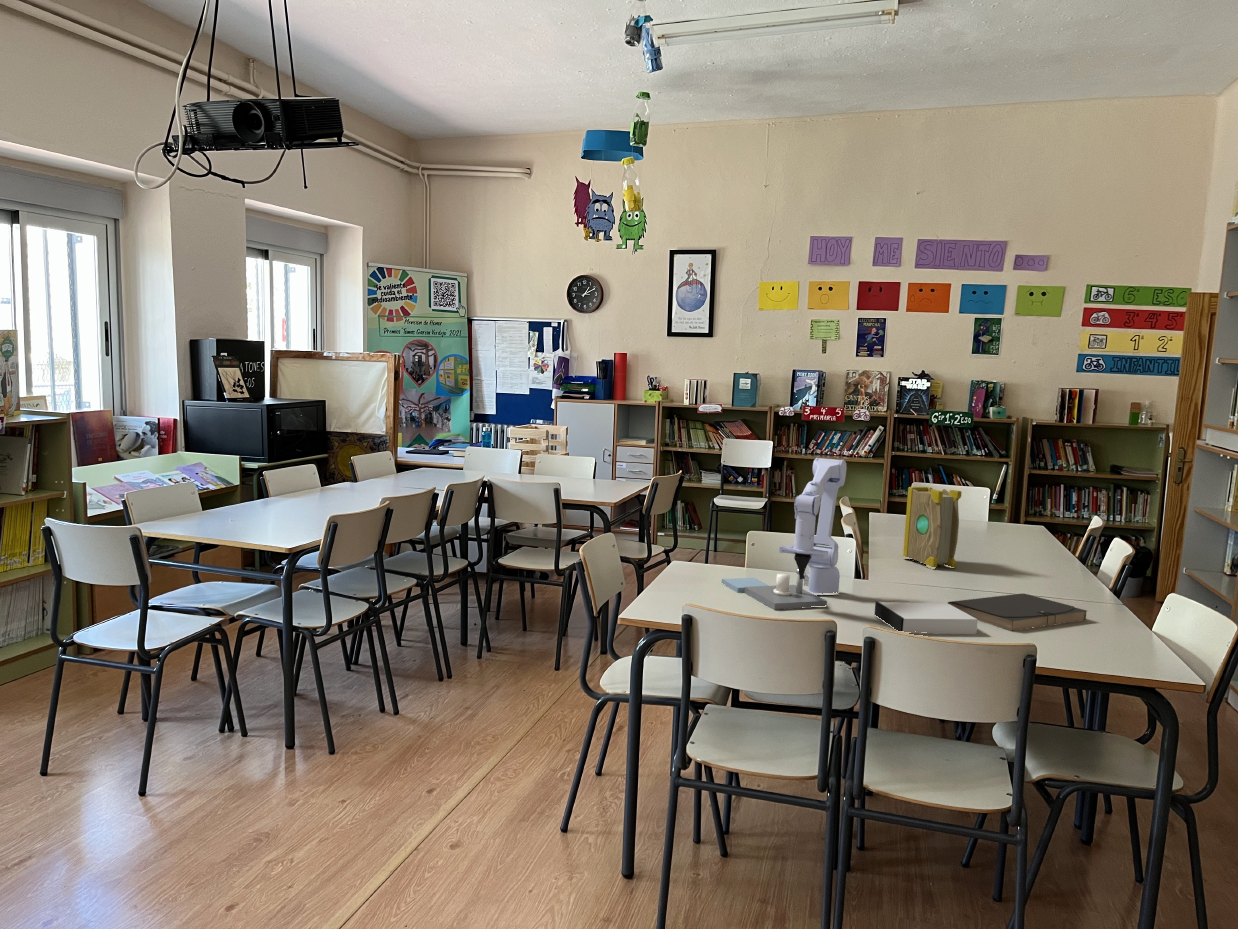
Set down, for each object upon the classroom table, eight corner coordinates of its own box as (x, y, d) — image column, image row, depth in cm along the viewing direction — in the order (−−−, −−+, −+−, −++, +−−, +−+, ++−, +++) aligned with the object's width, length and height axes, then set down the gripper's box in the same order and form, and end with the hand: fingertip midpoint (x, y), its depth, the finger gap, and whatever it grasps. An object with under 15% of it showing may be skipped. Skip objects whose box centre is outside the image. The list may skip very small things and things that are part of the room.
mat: (753, 582, 286) (753, 577, 286) (770, 590, 274) (770, 586, 274) (721, 583, 282) (721, 578, 282) (737, 592, 271) (737, 587, 271)
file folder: (1013, 619, 239) (946, 599, 260) (1012, 633, 239) (945, 612, 260) (1088, 609, 253) (1019, 591, 275) (1087, 622, 254) (1018, 603, 275)
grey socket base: (793, 590, 276) (795, 565, 275) (826, 607, 257) (828, 580, 256) (744, 592, 270) (745, 567, 270) (774, 610, 251) (776, 582, 251)
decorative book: (900, 558, 335) (906, 484, 332) (923, 558, 338) (929, 484, 335) (933, 570, 316) (940, 491, 313) (957, 569, 319) (964, 491, 316)
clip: (795, 576, 266) (796, 568, 265) (803, 576, 266) (803, 568, 265) (802, 585, 254) (803, 577, 254) (810, 586, 254) (811, 577, 253)
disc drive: (873, 617, 250) (875, 601, 249) (945, 618, 252) (946, 601, 252) (899, 635, 232) (901, 618, 232) (976, 636, 235) (978, 618, 234)
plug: (785, 597, 267) (786, 572, 266) (793, 601, 262) (795, 576, 261) (769, 598, 265) (771, 573, 264) (778, 602, 260) (779, 577, 259)
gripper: (778, 533, 253) (775, 577, 254) (826, 539, 247) (823, 584, 249) (783, 530, 260) (780, 573, 261) (830, 535, 254) (827, 579, 255)
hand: (801, 578), depth 255 cm, fingers closed, pressing on clip
